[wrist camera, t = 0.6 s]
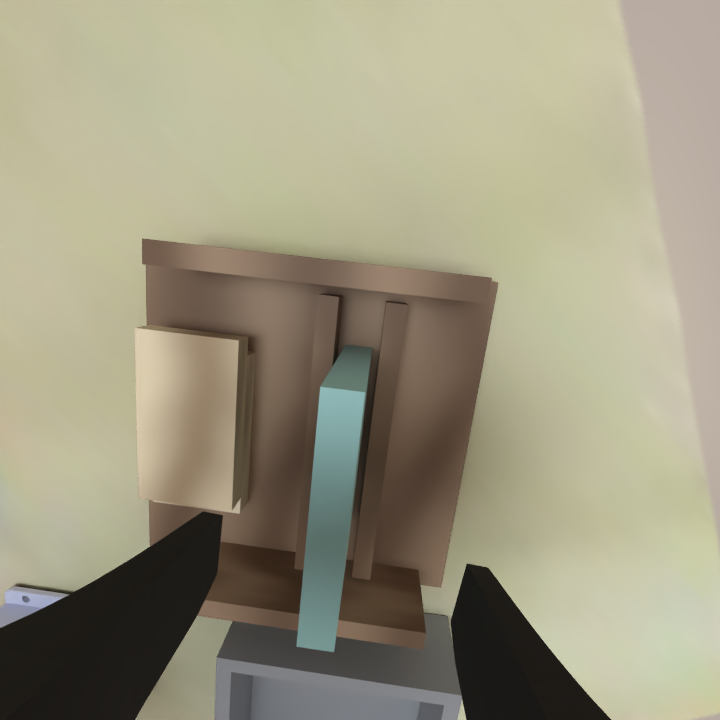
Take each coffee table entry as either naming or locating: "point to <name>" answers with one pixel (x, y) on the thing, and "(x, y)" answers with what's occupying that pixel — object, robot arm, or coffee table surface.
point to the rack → (299, 422)
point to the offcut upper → (190, 415)
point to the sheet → (332, 496)
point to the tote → (335, 677)
